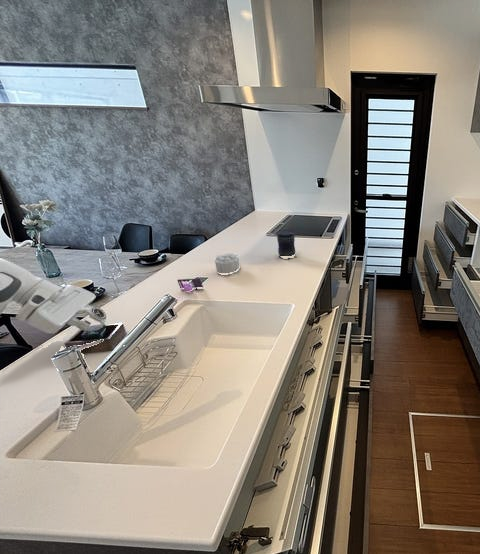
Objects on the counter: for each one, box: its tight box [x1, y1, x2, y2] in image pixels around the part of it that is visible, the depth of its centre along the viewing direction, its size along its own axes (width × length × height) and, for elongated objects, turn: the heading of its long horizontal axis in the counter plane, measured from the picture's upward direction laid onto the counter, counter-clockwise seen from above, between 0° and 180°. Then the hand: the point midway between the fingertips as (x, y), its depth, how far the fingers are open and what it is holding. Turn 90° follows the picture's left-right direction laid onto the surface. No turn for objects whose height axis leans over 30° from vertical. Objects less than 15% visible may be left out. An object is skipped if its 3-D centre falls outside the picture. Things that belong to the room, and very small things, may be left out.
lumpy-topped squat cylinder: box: [214, 253, 241, 278], centre depth 156 cm, size 10×13×9 cm
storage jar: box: [276, 229, 296, 256], centre depth 179 cm, size 10×10×15 cm
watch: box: [73, 305, 108, 340], centre depth 97 cm, size 6×8×11 cm
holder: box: [64, 322, 127, 354], centre depth 99 cm, size 12×10×4 cm
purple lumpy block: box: [176, 277, 204, 292], centre depth 134 cm, size 7×5×9 cm
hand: (93, 321), depth 97 cm, fingers closed on watch, 4 cm apart
